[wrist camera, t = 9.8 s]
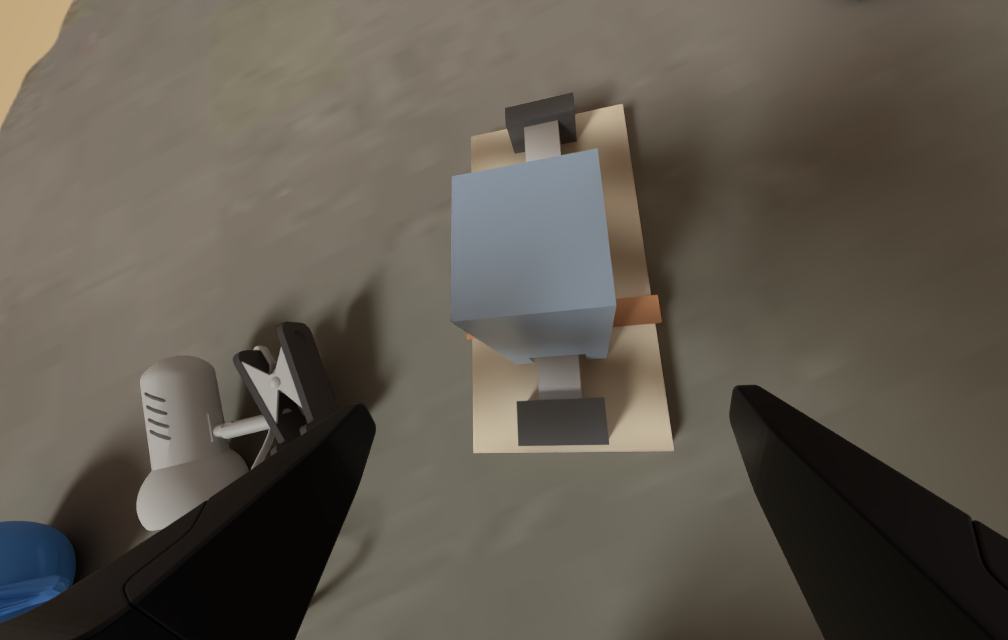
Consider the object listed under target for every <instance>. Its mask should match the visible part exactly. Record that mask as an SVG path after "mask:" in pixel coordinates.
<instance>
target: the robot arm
mask: <svg viewBox="0 0 1008 640" xmlns="http://www.w3.org/2000/svg"><path fill="white" fill-rule="evenodd" d="M729 418H730V423H731V427H732V429H733V432H734V435H735V438H736V441H737V444H738V447H739V450H740V453H741V455H742V458H743V461H744V464H745V467H746V470H747V473H748V476H749V478H750V481H751V484H752V487H753V489H754V492H755V494H756V496H757V499H758V501H759V503H760V505H761V507H762V509H763V512H764V514H765V516H766V518H767V520H768V522H769V524H770V526H771V528H772V530H773V532H774V534H775V537H776V539H777V541H778V543H779V545H780V547H781V549H782V551H783V553H784V555H785V557H786V559H787V562H788V564H789V566H790V568H791V570H792V572H793V574H794V576H795V578H796V580H797V582H798V584H799V587H800V589H801V591H802V593H803V595H804V597H805V599H806V601H807V603H808V605H809V607H810V610H811V612H812V614H813V616H814V618H815V620H816V622H817V624H818V626H819V628H820V630H821V632H822V635H823V637H824V639H825V640H1008V539H1007V538H1005V537H1003V536H1002V535H1000V534H999V533H997V532H995V531H994V530H992V529H990V528H989V527H987V526H986V525H984V524H982V523H981V522H979V521H976V520H973V521H972V519H971V517H970V516H969V515H967V514H966V513H964V512H963V511H961V510H959V509H958V508H956V507H954V506H953V505H951V504H950V503H948V502H946V501H945V500H943V499H941V498H940V497H938V496H937V495H935V494H933V493H932V492H930V491H929V490H927V489H925V488H924V487H922V486H920V485H919V484H917V483H916V482H914V481H912V480H911V479H909V478H907V477H906V476H904V475H903V474H901V473H899V472H898V471H896V470H894V469H893V468H891V467H890V466H888V465H886V464H885V463H883V462H881V461H880V460H878V459H877V458H875V457H873V456H872V455H870V454H868V453H867V452H865V451H864V450H862V449H860V448H859V447H857V446H856V445H854V444H852V443H851V442H849V441H847V440H846V439H844V438H843V437H841V436H839V435H838V434H836V433H834V432H833V431H831V430H830V429H828V428H826V427H825V426H823V425H821V424H820V423H818V422H817V421H815V420H813V419H812V418H810V417H808V416H807V415H805V414H804V413H802V412H800V411H799V410H797V409H795V408H794V407H792V406H791V405H789V404H787V403H786V402H784V401H783V400H781V399H779V398H778V397H776V396H774V395H773V394H771V393H770V392H768V391H766V390H765V389H763V388H761V387H760V386H757V385H738V386H735V387H734V389H733V392H732V398H731V405H730V412H729ZM375 433H376V425H375V422H374V420H373V418H372V416H371V414H370V412H369V410H368V408H367V407H366V405H365V404H363V403H350V404H347V405H345V406H344V407H342V408H341V409H339V410H338V411H337V412H335V413H334V414H332V415H331V416H329V417H328V418H326V419H325V420H323V421H322V422H320V423H319V424H317V425H316V426H314V427H313V428H312V429H310V430H309V431H307V432H306V433H304V434H303V435H301V436H300V437H298V438H297V439H295V440H294V441H292V442H291V443H289V444H288V445H287V446H285V447H284V448H282V449H281V450H279V451H278V452H276V453H275V454H273V455H272V456H270V457H269V458H267V459H266V460H264V461H263V462H262V463H260V464H259V465H257V466H256V467H254V468H253V469H251V470H250V471H248V472H247V473H245V474H244V475H242V476H241V477H239V478H238V479H237V480H235V481H234V482H232V483H231V484H229V485H228V486H226V487H225V488H223V489H222V490H220V491H219V492H217V493H216V494H214V495H213V496H212V497H210V498H209V500H206V501H204V502H203V503H201V504H200V505H198V506H197V507H195V508H194V509H192V510H191V511H189V512H188V513H186V514H185V515H183V516H182V517H180V518H179V519H177V520H176V521H174V522H173V523H171V524H170V525H168V526H167V527H165V528H164V529H162V530H161V531H159V532H158V533H156V534H154V535H153V536H151V537H150V538H148V539H147V540H145V541H143V542H142V543H140V544H139V545H137V546H136V547H134V548H132V549H131V550H129V551H128V552H126V553H124V554H123V555H121V556H120V557H118V558H116V559H115V560H113V561H112V562H110V563H108V564H107V565H105V566H104V567H102V568H100V569H99V570H97V571H95V572H94V573H92V574H91V575H89V576H87V577H86V578H84V579H83V580H81V581H79V582H78V583H76V584H75V585H73V586H71V587H70V588H68V589H67V590H65V591H63V592H62V593H60V594H58V595H57V596H55V597H54V598H52V599H50V600H48V601H47V602H45V603H43V604H41V605H40V606H38V607H36V608H34V609H32V610H30V611H28V612H26V613H23V614H21V615H19V616H16V617H14V618H12V619H9V620H7V621H4V622H1V623H0V640H295V638H296V636H297V633H298V631H299V629H300V626H301V624H302V621H303V619H304V617H305V614H306V612H307V609H308V607H309V605H310V602H311V600H312V597H313V595H314V593H315V590H316V588H317V585H318V583H319V581H320V578H321V576H322V574H323V571H324V569H325V566H326V564H327V562H328V559H329V557H330V554H331V552H332V550H333V547H334V545H335V542H336V540H337V538H338V535H339V533H340V530H341V528H342V526H343V523H344V521H345V519H346V516H347V514H348V511H349V509H350V507H351V504H352V502H353V499H354V497H355V495H356V492H357V489H358V487H359V484H360V481H361V478H362V475H363V472H364V469H365V465H366V462H367V459H368V456H369V452H370V449H371V446H372V443H373V440H374V436H375Z"/></svg>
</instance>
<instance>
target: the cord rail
mask: <svg viewBox="0 0 1008 640" xmlns="http://www.w3.org/2000/svg"><path fill="white" fill-rule="evenodd" d="M505 119H506V127H507V129H504V130H500V131H495V132H491V133H486V134H482V135H477V136H472V137H471V173H473V172H478V171H483V170H488V169H493V168H498V167H504V166H509V165H514V164H519V163H524V162H529V161H534V160H540V159H545V158H550V157H555V156H560V155H565V154H571V153H576V152H581V151H586V150H591V149H596V148H598V156H599V164H600V173H601V181H602V189H603V198H604V206H605V214H606V223H607V231H608V239H609V248H610V256H611V264H612V273H613V281H614V289H615V298H616V311H615V316H614V321H613V326H612V332H611V337H610V342H609V347H608V353H607V358H606V359H592V360H586V354H579V355H565V356H550V357H536V358H534V359H535V363H531V364H515V363H513V362H512V361H510V360H509V359H507V358H506V357H504V356H503V355H501V354H499V353H498V352H496V351H495V350H493V349H492V348H490V347H489V346H487V345H486V344H484V343H483V342H481V341H479V340H478V339H476V338H475V337H473V336H472V335H470V334H469V333H467V339H472V340H473V453H527V452H627V451H674V447H673V440H672V433H671V426H670V420H669V413H668V406H667V399H666V393H665V386H664V379H663V372H662V366H661V359H660V352H659V345H658V339H657V332H656V325H655V324H656V323H662V319H661V313H660V306H659V300H658V295H651V292H650V285H649V278H648V271H647V265H646V258H645V251H644V244H643V238H642V231H641V224H640V217H639V211H638V204H637V197H636V190H635V184H634V177H633V170H632V163H631V157H630V150H629V143H628V137H627V130H626V123H625V116H624V110H623V104H619V105H615V106H610V107H605V108H601V109H596V110H592V111H587V112H582V113H578V114H575V108H574V98H573V93H569V94H564V95H560V96H556V97H551V98H547V99H543V100H539V101H534V102H530V103H526V104H521V105H517V106H513V107H508V108H505Z"/></svg>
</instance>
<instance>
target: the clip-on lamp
mask: <svg viewBox="0 0 1008 640" xmlns="http://www.w3.org/2000/svg"><path fill="white" fill-rule="evenodd" d="M276 331H277V335H278V338H279V341H280V344H281V349H280V353H279V357H278V361H275V359H274V358H273V356H272V354H271V352H270V351H269V350H268V348H267V347H265V346H260V345H259V346H256V347H255V348H254V349H253V350H246V351H241V352H239V353H237V354H236V355H234V357H233V362H234V365H235V367H236V369H237V370H238V372H239V374H240V376H241V377H242V379H243V381H244V383H245V385H246V386H247V388H248V390H249V392H250V393H251V395H252V397H253V399H254V401H255V402H256V404H257V406H258V408H259V409H260V411H261V413H262V415H258V416H254V417H250V418H246V419H242V420H238V421H232V422H227V423H225V421H224V416H223V411H222V405H221V400H220V395H219V389H218V384H217V379H216V373H215V370H214V368H213V366H212V365H211V364H210V363H208V362H206V361H205V360H203V359H200V358H197V357H192V356H174V357H170V358H166V359H163V360H161V361H159V362H157V363H156V364H154V365H152V366H151V367H150V368H148V369H147V370H146V371H145V373H144V374H143V375H142V377H141V378H140V387H141V394H142V402H143V409H144V416H145V424H146V431H147V439H148V446H149V453H150V461H151V468H152V471H151V473H150V474H149V475H148V476H147V478H146V479H145V481H144V482H143V484H142V486H141V488H140V491H139V494H138V497H137V503H136V506H137V514H138V518H139V520H140V522H141V524H142V525H143V526H144V527H145V528H146V529H147V530H149V531H154V530H160V529H164V528H165V527H167V526H168V525H170V524H171V523H173V522H174V521H176V520H177V519H179V518H180V517H182V516H183V515H185V514H186V513H188V512H189V511H191V510H192V509H194V508H195V507H197V506H198V505H200V504H201V503H203V502H204V501H206V500H209V498H210V497H212V496H213V495H214V494H216V493H217V492H219V491H220V490H222V489H223V488H225V487H226V486H228V485H229V484H231V483H232V482H234V481H235V480H237V479H238V478H239V477H241V476H242V475H244V474H245V473H247V472H248V471H249V470H248V467H247V465H246V463H245V461H244V460H243V459H242V457H241V456H240V455H239V454H237V453H236V452H235V451H233V450H231V449H230V448H229V443H228V439H229V438H233V437H238V436H242V435H246V434H250V433H254V432H259V431H263V430H267V429H269V430H268V434H267V437H266V439H265V442H264V444H263V446H262V448H261V450H260V452H259V454H258V456H257V458H256V460H255V462H254V464H253V466H252V468H251V469H253V468H254V467H256V466H257V465H259V464H260V463H262V462H263V461H264V459H265V457H266V455H267V454H268V452H269V450H270V448H271V446H272V443H273V440H274V438H276V440H277V441H278V443H279V444H278V445H277V446H275V447H273V448H272V449H271V451H270V453H271V456H272V455H273V454H275V453H276V452H278V451H279V450H281V449H282V448H284V447H285V446H287V445H288V444H289V443H291V442H292V441H294V440H295V439H297V438H298V437H300V436H301V435H303V434H304V433H306V432H307V431H309V430H310V429H312V428H313V427H314V426H316V425H317V424H319V423H320V422H322V421H323V420H325V419H326V418H328V417H329V416H331V415H332V414H334V413H335V412H337V411H338V410H339V409H338V406H337V403H336V401H335V398H334V395H333V392H332V389H331V386H330V384H329V381H328V378H327V375H326V372H325V369H324V367H323V364H322V361H321V358H320V355H319V352H318V350H317V347H316V344H315V341H314V338H313V335H312V333H311V331H310V329H309V328H308V327H307V326H306V325H305V324H303V323H296V322H284V323H282V324H280V325H278V326H277V328H276Z"/></svg>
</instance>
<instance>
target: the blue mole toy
mask: <svg viewBox="0 0 1008 640" xmlns="http://www.w3.org/2000/svg"><path fill="white" fill-rule="evenodd" d="M75 572H76V557H75V552H74V549H73V547H72V545H71V543H70V541H69V540H68V538H67V537H66V536H65V535H64V534H63V533H61V532H60V531H59V530H57V529H55V528H53V527H51V526H48V525H45V524H41V523H36V522H28V521H5V522H0V623H1V622H4V621H7V620H9V619H12V618H14V617H16V616H19V615H21V614H23V613H26V612H28V611H30V610H32V609H34V608H36V607H38V606H40V605H41V604H43V603H45V602H47V601H48V600H50V599H52V598H54V597H55V596H57V595H58V594H60V593H62V592H63V591H65V590H67V589H68V588H70V587H71V586H72V584H73V581H74V577H75Z"/></svg>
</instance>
